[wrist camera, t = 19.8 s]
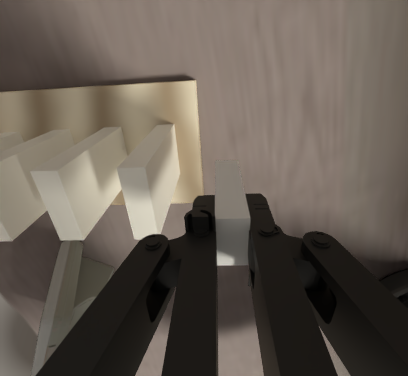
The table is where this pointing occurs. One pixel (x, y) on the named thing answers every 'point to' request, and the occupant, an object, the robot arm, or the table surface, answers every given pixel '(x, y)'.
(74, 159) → the domino
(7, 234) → the domino
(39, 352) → the digital clock
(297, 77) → the table surface
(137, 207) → the domino
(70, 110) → the board
